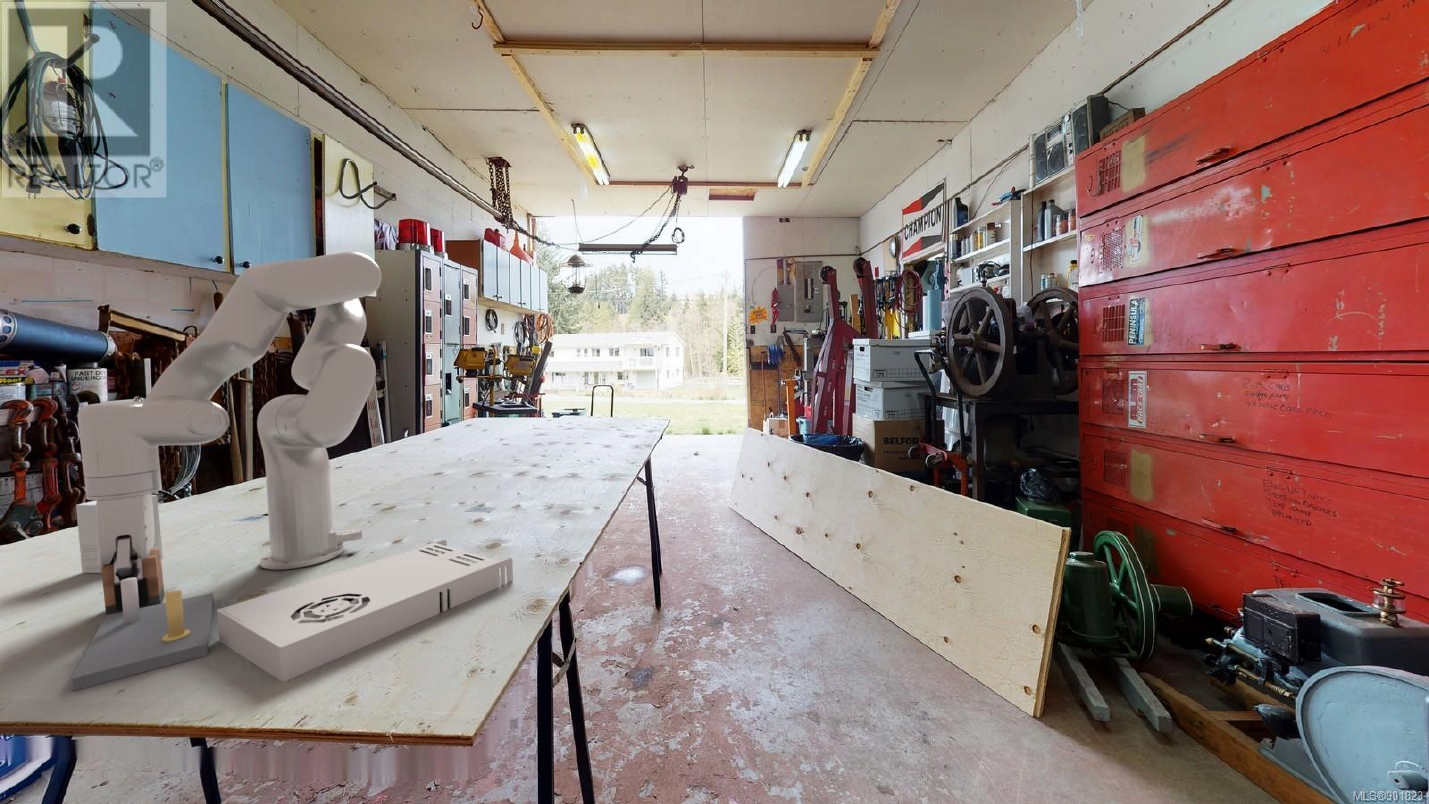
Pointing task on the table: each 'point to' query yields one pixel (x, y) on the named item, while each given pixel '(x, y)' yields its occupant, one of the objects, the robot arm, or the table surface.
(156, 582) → the sleeve
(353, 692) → the table surface
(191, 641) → the pin board
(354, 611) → the power supply unit
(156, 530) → the supplement box
